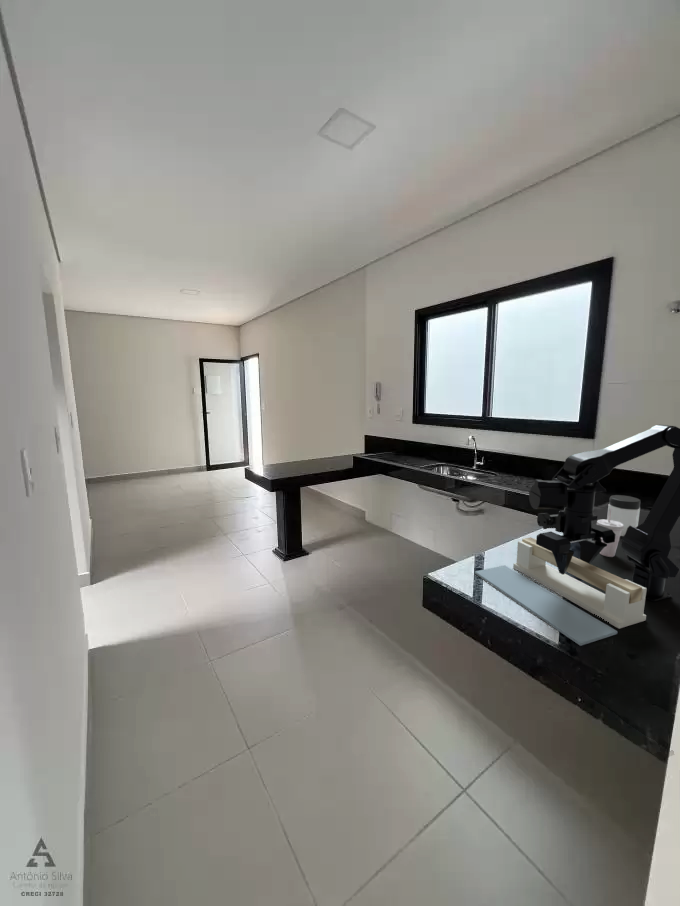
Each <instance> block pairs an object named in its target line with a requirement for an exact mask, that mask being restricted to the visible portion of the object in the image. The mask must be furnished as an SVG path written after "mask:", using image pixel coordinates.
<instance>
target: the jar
mask: <svg viewBox="0 0 680 906" xmlns="http://www.w3.org/2000/svg"><path fill="white" fill-rule="evenodd" d="M609 508H612V509H611V518H610V520H613V521H617V522H620V523H622V524H623V525H624V529H622V531H621V535H620V537H623V536H624V535H625V534H626V531H627V528H628V527H629V526H633V527H635V528H636V527H637V526H639V520H640V513H641V512H640V511H641V499H639V498H637V497H633V496H631V495H621V494H615V495H611V496H610V497H609V504H608V508H607V514H606V515H607V516H606V519H607V520H608V515H609Z"/></svg>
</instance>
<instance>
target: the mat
mask: <svg viewBox="0 0 680 906" xmlns="http://www.w3.org/2000/svg"><path fill="white" fill-rule="evenodd" d="M474 574H475V575H476V576H478V577H479V578H481V579H482V580H483V581H485V582H486V581H487V584H489V583H490V585H491V586H492V585H493V586H492V587H494V588H495V587H496V588H495V589H496V590H499V592H501V593H503V594H504V595H506V596H507V597H508V598H510V599H512V600H513V601H515V602H516V603H517V604H519V605H520V606H521V607H523V608H524V609H526V610H527V611H529V612H530V613H532V614H533V615H535V616H536V617H538V619H539V618H540V620H542V621H543V622H545V623H547V624H548V625H549V626H551V627H552V628H554V629H555V630H556V631H558V632H559V633H561V634H563V635H564V636H565V637H567V638H568V639H570V640H572V641H573V643H574V642H575V644H577V645H579V646H580V647H581V646H585V645H587V644H591V643H593V642H596V641H599V640H603V639H606V638H609V637H612V636H615V635H618V630H616V629H614V628H613V627H611V626H610V625H608V624H606V623H604V622H602V621H601V620H599V619H597V618H596V617H594V616H592V615H590V614H589V613H587V612H586V611H584V610H582V609H581V608H578V606H575V605H574V604H572V603H570V602H569V601H567V600H566V599H563V598H561V597H560V596H558V595H556V594H554V593H553V592H551V591H550V590H548V589H546V588H545V587H544V586H541V585H539V584H538V583H536V582H534V581H532V580H531V579H530V578H527V577H526V576H524V575H522V574H520V573H519V572H518V571H516V570H514V569H512V568H510V567H509V566H507V565H499V566H494V567H490V568H485V569H480V570H476V571H474Z"/></svg>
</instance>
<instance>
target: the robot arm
mask: <svg viewBox="0 0 680 906" xmlns="http://www.w3.org/2000/svg"><path fill="white" fill-rule="evenodd" d="M663 447H668V448H671V449H673V452H672V455H671V456H672V463H673V469H672V470H671V472H670V473H669V476H668V478H667V480H666V482H665V483H664V485H663V487H662V488H661V491H660V492H659V494H658V496H657V498H656V499H655V502H654V503H653V504H652V506H651V509H650V511H649V513H648V514H647V515H646V516H647V517H646V518H645V520H644V521H643V522H642V523H641V524H638V526H637V527H636V528H635V527H633V526H629V527H628V528H627V531H626V534H625V535H624V536H621V537H620V540H621V541H622V542H621V544H620V545H621V546H620V547H621V548H622V551H623V553H624V554H625V555H626V558H627V560H628V561H629V562H631V563H632V564H634V567H633V574H632V578H631V579H632V580H631V582H634V583H636V584H638V585H640V586H643V587H645V588H647V590H646V598H645V600H649V601H651V602H657V601H660V600H665V599H668V598H671V597H672V594H671V593H670V592H667V591H665V585H666V580H668V579H669V578H676V577H677V575H678V572H679V571H680V568H679V567H678V566H677V565H676V564H674V562H673V561H672V560H671V559H670V558H669V556H670V552H671V549H672V543H671V533H672V530H673V528H674V527H675V525H676V523H677V521H678V520H679V518H680V427H678V426H676V425H668V424H656V425H653V426H652V427H651V428H648V429H647V430H644V431H642V432H639V433H637V434H634V435H632V436H630V437H627V438H626V439H622V440H621V441H618V442H615V443H613V444H611V445H609V446H607V447H605V448H604V447H603V448H601V449H596V450H586V451H583V452H579V453H575V454H571V455H569V456H567V457H566V458H565V461H564V463H563V465H562V466H561V467H560V469H559V470H558V471H557V472H556V474H554V476H553V477H551V480H542V479H535V480H534V482H533V483H534V484H533V485H531V487H530V490H529V492H528V500H529V504H530V506H531V508H533V510H559V511H558V513H557V514H549V513H548V512H541V513H537V517H536V522H537V525H538V526H539V527H542V529H543V530H547V529H555V530H554V531H555V532H553V531H546V532H545V531H544V532H540V533H538V534H537V535H536V538H535V539H536V544H537V545H539V546H541V547H543V548H546V549H548V550H550V551H552V553H553V555H554V558H555V561H556V564H557V567H556V568H557V570H559V573H561V574H563V575H564V574H566V570H567V568H568V566H569V563H570V561H571V559H572V556H573V557H574V553H575V551H574V550H571V548H572V543H577V542H578V544H579V550H580V551H579V553H580V554H579V559H580V560H582V561H584V562H587V563H589V564H592V563H593V561H594V560H595V559H596V558H597V557H598V555H600V552H601V551H602V549H603V548H604V547H606V546H607V544H606V543H612V542H615V533H614V532H613V530H611V529H609V528H606V527H603V526H600V525H597V523H593V521H598V515H596V514H594V507H595V496H596V493H605V492H607V489H606V488H605V487H604V486H603V485H602V484H601V483H600V480H602V479H603V478H605V477H607V476H608V475H610V473H611V472H612V471H613V469H614V468H617V467H618V466H620V465H622V464H625V463H627V462H630V461H633V460H635V459H637V458H640V457H642V456H644V455H647V454H649V453H652V452H654V451H656V450H659V449H660V448H663ZM571 478H572V479H571ZM563 508H564V509H563ZM558 533H561V534H562V535H561V534H558ZM601 538H603V541H604V542H605V543H603V542H601V541H602V539H601Z"/></svg>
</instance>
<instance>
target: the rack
mask: <svg viewBox="0 0 680 906" xmlns="http://www.w3.org/2000/svg"><path fill="white" fill-rule="evenodd" d="M533 539H536V538H533ZM516 549H517V550H516V562H514V563H513V566H512V568H513V569H515V571H516V570H517V572H518V571H519V572H520V573H522V574H523V575H525V576H527V577H528V578H529V579H532V580H534V581H535V582H538V583H539V584H540V585H542V586H543V587H546V588H547V589H550V590H551V591H553V592H554V593H557V594H558V595H559V596H562V597H563V598H565V599H567V600H569V601H570V602H572V603H574V604H576V605H578V606H579V607H580V608H583V609H584V610H586V611H588V612H589V613H591V614H593V615H594V614H595V615H594V616H596V615H597V616H596V617H598V616H599V617H598V618H600V617H601V618H602V619H601V618H600V619H601V620H603V619H604V620H603V621H605V622H606V621H607V623H608V622H609V624H610V625H612V626H614V627H615V628H617V629H623V628H625V627H628V626H632V625H635V624H638V623H642V622H644V621H646V620H647V615H646V614H645V613H644V612H645V611H644V610H645V605H646V590H647V588H645V587H643V586H640V585H638V584H636V583H634V582H632V580H629V579H624V580H627V581H629V582H631V583H633V584H636V585H638V586H640V587H642V592H641V600H640V601H638V602H635V603H631V604H630V603H629V597H630V593H629V592H627V591H625V590H623V589H621V588H619V587H617V586H614V585H612V584H610V583H609V584H607V585H606V591H605V593H604V592H602V591H601V590H598V589H596V588H594V587H592V586H589V584H586V583H584V582H582V581H580V580H578V579H576V578H574V577H573V576H571V575H568V573H565V574H564V575H563V574H561V573H559V570H558V568H557V569H556V568H555V567H552V566H550V565H549V564H547V563H546V561H544V560H542V559H540V558H538V557H536V556H534V555H532V550H533V546H530V545H528V544H526V543H524V542H522V540H518V541H517V547H516Z"/></svg>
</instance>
